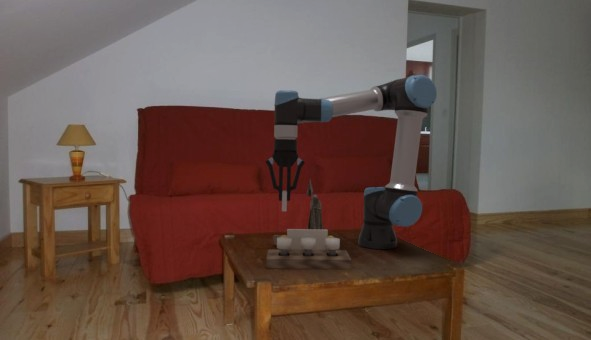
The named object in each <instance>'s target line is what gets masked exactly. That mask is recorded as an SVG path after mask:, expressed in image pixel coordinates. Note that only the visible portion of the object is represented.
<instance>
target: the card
mask: <svg viewBox="0 0 591 340" xmlns="http://www.w3.org/2000/svg"><path fill="white" fill-rule="evenodd" d="M280 236H281V237H289V238H291V249H288V250H305V249H302V248H301V238H304V237H311V238H315V239H316V248H315V249H312V250H328V249H326V248H325V239H326V238H335V237H334V235H329V230H328V229H324V228H323V229H307V228H306V229H305V228H287V230H286V234H282V235H280Z"/></svg>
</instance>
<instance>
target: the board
mask: <svg viewBox="0 0 591 340" xmlns="http://www.w3.org/2000/svg"><path fill="white" fill-rule="evenodd" d="M265 265H266V267H265V268H266V269H292V270H293V269H299V270H301V269H302V270H303V269H305V270H309V269H310V270H312V269H313V270H316V269H317V270H319V269H320V270H352V258H351V256H350V255H349V252H348V251H347V250H346V249H344V250H343V249H338V250H336V256H329V250H328V249H327V250H312V256H305V250H288V256H280V249H273V248H272V249H267V254H266V264H265Z"/></svg>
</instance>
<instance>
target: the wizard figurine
mask: <svg viewBox="0 0 591 340" xmlns="http://www.w3.org/2000/svg"><path fill="white" fill-rule="evenodd" d="M306 196H308V197H310V198H311V200H310V203H309V206H310V209H309V213H308V223H307V228H306V229H324V228H323V227H324V226H323V215H322V210H323V207H322V203H321V201H320V199H319V197H318V194H314V190H313V185H312V179H311V178H310V179H309V184H308V187H307V191H306Z"/></svg>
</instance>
